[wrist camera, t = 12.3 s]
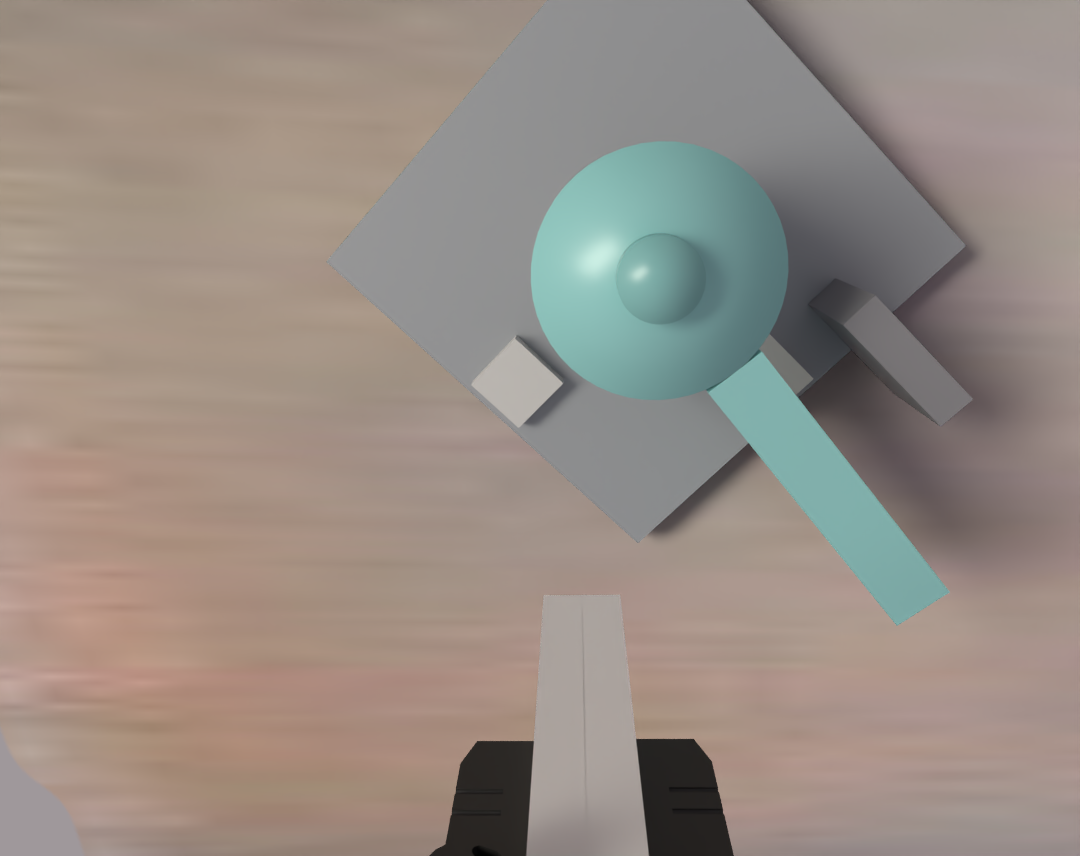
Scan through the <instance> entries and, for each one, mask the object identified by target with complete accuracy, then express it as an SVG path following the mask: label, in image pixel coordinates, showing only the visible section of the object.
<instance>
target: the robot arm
mask: <svg viewBox="0 0 1080 856" xmlns="http://www.w3.org/2000/svg"><path fill="white" fill-rule="evenodd" d="M430 856H734V855H733V851H732V846H731V842H730V838H729V834H728V829H727V825H726V821H725V816H724V814H723V808H722V804H721V799H720V795H719V792H718V786H717V782H716V778H715V773H714V769H713V765H712V761H711V760H710V759H709V758H708V756H707V755H706V754H705V753H704V751H703V750H702V749H701V748H700V746H699V745H698V744H697V743H696V741H695V740H694V739H636V735H635V726H634V717H633V708H632V698H631V689H630V680H629V671H628V662H627V653H626V644H625V635H624V626H623V617H622V608H621V599H620V595H544V598H543V613H542V628H541V643H540V658H539V673H538V688H537V703H536V718H535V733H534V741H477V742H476V744H475V745H474V746H473V748H472V749H471V750H470V752H469V753H468V754H467V756H466V757H465V758H464V760H463V761H462V762H461V764H460V770H459V775H458V780H457V786H456V794H455V796H454V802H453V807H452V815H451V818H450V823H449V828H448V834H447V839H446V845H444V846H442V847H440V848H438V849H436V850H435V851H434V852H433V853H432V854H431V855H430Z"/></svg>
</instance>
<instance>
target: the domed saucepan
mask: <svg viewBox="0 0 1080 856" xmlns="http://www.w3.org/2000/svg"><path fill="white" fill-rule="evenodd" d="M787 280H788V250H787V244H786V238H785V234H784V231H783V227H782V224H781V221H780V219H779V216H778V214H777V212H776V210H775V208H774V205H773V204H772V202H771V201H770V199H769V197H768V196H767V194H766V193H765V191H764V190H763V189H762V188H761V186H760V185H759V184H758V183H757V182H756V181H755V179H754V178H753V177H752V176H751V175H749V174H748V173H747V172H746V171H745V170H744V169H743V168H742V167H740V166H739V165H737V164H736V163H734V162H733V161H731V160H730V159H728V158H727V157H725V156H723V155H721V154H719V153H716V152H714V151H712V150H710V149H707V148H704V147H700V146H697V145H694V144H688V143H682V142H672V141H656V142H648V143H640V144H636V145H632V146H629V147H625V148H622V149H619V150H616V151H614V152H612V153H609V154H607V155H604V156H602V157H601V158H599V159H597V160H595V161H594V162H592V163H590V164H589V165H587V166H586V167H585V168H584V169H582V170H581V171H580V172H578V173H577V174H576V175H575V176H574V177H573V178H572V179H571V180H570V181H569V182H568V183H567V184H566V185H565V186H564V187H563V189H562V190H561V191H560V193H559V194H558V195H557V196H556V198H555V199H554V201H553V203H552V205H551V206H550V208H549V210H548V211H547V213H546V215H545V217H544V219H543V222H542V224H541V226H540V229H539V231H538V234H537V238H536V241H535V245H534V249H533V255H532V262H531V289H532V297H533V302H534V306H535V310H536V314H537V317H538V319H539V322H540V325H541V327H542V330H543V332H544V333H545V335H546V337H547V339H548V341H549V342H550V344H551V345H552V347H553V348H554V350H555V351H556V352H557V354H558V355H559V356H560V357H561V359H562V360H563V361H564V362H565V363H566V364H567V365H568V366H569V367H570V368H571V369H572V370H574V371H575V372H576V373H578V374H579V375H580V376H581V377H583V378H584V379H586V380H587V381H589V382H591V383H592V384H594V385H596V386H597V387H600V388H602V389H604V390H606V391H609V392H611V393H614V394H618V395H621V396H625V397H629V398H635V399H642V400H665V399H675V398H680V397H684V396H689V395H692V394H695V393H698V392H701V391H703V390H707V392H708V394H709V395H710V396H711V397H712V399H713V400H714V401H715V402H716V403H717V405H718V406H719V407H720V408H721V410H722V411H723V412H724V413H725V415H726V416H727V417H728V418H729V419H730V421H731V422H732V423H733V424H734V426H735V427H736V428H737V429H738V431H739V432H740V433H741V434H742V435H743V437H744V438H745V439H746V440H747V442H748V443H749V444H750V445H751V447H752V448H753V449H754V450H755V452H756V453H757V454H758V455H759V456H760V458H761V459H762V460H763V461H764V463H765V464H766V465H767V466H768V468H769V469H770V470H771V471H772V472H773V474H774V475H775V476H776V477H777V479H778V480H779V481H780V482H781V484H782V485H783V486H784V487H785V488H786V490H787V491H788V492H789V493H790V495H791V496H792V497H793V498H794V500H795V501H796V502H797V503H798V504H799V506H800V507H801V508H802V509H803V511H804V512H805V513H806V514H807V516H808V517H809V518H810V519H811V521H812V522H813V523H814V524H815V525H816V527H817V528H818V529H819V530H820V532H821V533H822V534H823V535H824V537H825V538H826V539H827V540H828V541H829V543H830V544H831V545H832V546H833V548H834V549H835V550H836V551H837V553H838V554H839V555H840V556H841V557H842V559H843V560H844V561H845V562H846V564H847V565H848V566H849V567H850V569H851V570H852V571H853V572H854V573H855V575H856V576H857V577H858V578H859V580H860V581H861V582H862V583H863V585H864V586H865V587H866V588H867V590H868V591H869V592H870V593H871V594H872V596H873V597H874V598H875V599H876V601H877V602H878V603H879V604H880V606H881V607H882V608H883V609H884V610H885V612H886V613H887V614H888V615H889V617H890V618H891V619H892V620H893V622H894V623H895V624H896V625H899V624H901V623H902V622H904V621H905V620H907V619H908V618H910V617H912V616H913V615H915V614H916V613H918V612H919V611H921V610H922V609H924V608H926V607H927V606H929V605H930V604H932V603H933V602H935V601H937V600H938V599H940V598H941V597H943V596H944V595H946V594H948V593H949V591H948V589H947V588H946V587H945V585H944V584H943V583H942V582H941V580H940V579H939V578H938V576H937V575H936V574H935V573H934V571H933V570H932V569H931V567H930V566H929V565H928V564H927V562H926V561H925V560H924V559H923V557H922V556H921V555H920V553H919V552H918V551H917V550H916V548H915V547H914V546H913V544H912V543H911V542H910V541H909V539H908V538H907V537H906V535H905V534H904V533H903V532H902V530H901V529H900V528H899V527H898V525H897V524H896V523H895V521H894V520H893V519H892V518H891V516H890V515H889V514H888V512H887V511H886V510H885V509H884V507H883V506H882V505H881V503H880V502H879V501H878V500H877V498H876V497H875V496H874V495H873V493H872V492H871V491H870V489H869V488H868V487H867V486H866V484H865V483H864V482H863V480H862V479H861V478H860V477H859V475H858V474H857V473H856V472H855V470H854V469H853V468H852V466H851V465H850V464H849V463H848V461H847V460H846V459H845V457H844V456H843V455H842V454H841V452H840V451H839V450H838V448H837V447H836V446H835V445H834V443H833V442H832V441H831V440H830V438H829V437H828V436H827V434H826V433H825V432H824V431H823V429H822V428H821V427H820V425H819V424H818V423H817V422H816V420H815V419H814V418H813V416H812V415H811V414H810V413H809V411H808V410H807V409H806V408H805V406H804V405H803V404H802V402H801V401H800V400H799V399H798V397H797V396H796V395H795V393H794V392H793V391H792V390H791V388H790V387H789V386H788V384H787V383H786V382H785V381H784V379H783V378H782V377H781V376H780V374H779V373H778V372H777V370H776V369H775V368H774V367H773V365H772V364H771V363H770V361H769V360H768V359H767V358H766V356H765V355H764V354H763V352H762V351H761V350H760V349H759V348H760V347H761V346H762V344H763V343H764V341H765V340H766V338H767V337H768V336H769V334H770V332H771V330H772V328H773V326H774V324H775V322H776V321H777V318H778V315H779V313H780V310H781V308H782V305H783V301H784V297H785V293H786V289H787Z"/></svg>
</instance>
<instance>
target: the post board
mask: <svg viewBox="0 0 1080 856" xmlns="http://www.w3.org/2000/svg"><path fill="white" fill-rule="evenodd" d="M656 141H672V142H682V143H688V144H694V145H697V146H700V147H704V148H707V149H710V150H712V151H714V152H716V153H719V154H721V155H723V156H725V157H727V158H728V159H730V160H731V161H733V162H734V163H736V164H737V165H739V166H740V167H742V168H743V169H744V170H745V171H746V172H747V173H748V174H749V175H751V176H752V177H753V178H754V179H755V181H756V182H757V183H758V184H759V185H760V186H761V188H762V189H763V190H764V191H765V193H766V194H767V196H768V197H769V199H770V201H771V202H772V204H773V205H774V208H775V210H776V212H777V214H778V216H779V219H780V221H781V224H782V227H783V231H784V234H785V238H786V244H787V250H788V280H787V289H786V293H785V297H784V301H783V305H782V308H781V310H780V313H779V315H778V318H777V321H776V322H775V324H774V326H773V328H772V330H771V332H770V334H769V336H768V337H767V338H766V340H765V341H764V343H763V344H762V346H761V347H760V348H759V349H760V350H761V351H762V352H763V354H764V355H765V356H766V358H767V359H768V360H769V361H770V363H771V364H772V365H773V367H774V368H775V369H776V370H777V372H778V373H779V374H780V376H781V377H782V378H783V379H784V381H785V382H786V383H787V384H788V386H789V387H790V388H791V390H792V391H793V392H794V393H795V395H796V396H797V397H798V398H799V397H800V396H801V395H802V394H803V393H804V392H805V391H806V390H808V389H809V388H810V387H811V386H812V385H813V384H814V383H815V382H816V381H818V380H819V379H820V378H821V377H822V376H823V375H824V374H825V373H826V372H827V371H829V370H830V369H831V368H832V367H833V366H834V365H835V364H836V363H837V362H838V361H840V360H841V359H842V358H843V357H844V356H845V355H846V354H847V353H848V352H850V351H851V350H852V351H853V352H854V353H855V354H856V355H857V356H858V357H859V358H860V359H861V360H862V361H863V362H864V363H865V364H866V365H867V366H868V367H869V368H870V369H871V370H872V371H873V372H874V373H875V374H876V376H877V377H878V378H879V379H880V380H881V381H882V382H883V383H884V384H885V385H886V386H887V387H888V388H889V389H890V390H891V391H892V392H893V393H894V394H895V395H897V396H898V397H899V398H901V399H902V400H904V401H905V402H906V403H908V404H909V405H911V406H912V407H914V408H915V409H916V410H918V411H919V412H921V413H922V414H923V415H925V416H926V417H928V418H929V419H931V420H932V421H933V422H935V423H936V424H938V425H939V426H942V425H943V424H945V423H946V422H947V421H948V420H949V419H951V418H952V417H953V416H954V415H955V414H956V413H958V412H959V411H960V410H961V409H962V408H964V407H965V406H966V405H967V404H968V403H969V402H971V401H972V400H973V398H972V397H971V396H970V395H969V394H968V393H967V392H966V391H965V390H964V389H963V388H962V387H961V386H960V385H959V384H958V382H957V381H956V380H955V379H954V378H953V377H952V376H951V375H950V374H949V373H948V372H947V371H946V370H945V369H944V368H943V367H942V365H941V364H940V363H939V362H938V361H937V360H936V359H935V358H934V357H933V356H932V355H931V354H930V353H929V352H928V351H927V349H926V348H925V347H924V346H923V345H922V344H921V343H920V342H919V341H918V340H917V339H916V338H915V337H914V336H913V335H912V334H911V332H910V331H909V330H908V329H907V328H906V327H905V326H904V325H903V324H902V323H901V322H900V321H899V320H898V319H897V318H896V316H895V315H894V314H893V312H894V311H895V310H896V309H897V308H898V307H899V306H900V305H901V304H903V303H904V302H905V301H906V300H907V299H908V298H909V297H910V296H911V295H912V294H914V293H915V292H916V291H917V290H918V289H919V288H920V287H921V286H922V285H924V284H925V283H926V282H927V281H928V280H929V279H930V278H931V277H932V276H933V275H935V274H936V273H937V272H938V271H939V270H940V269H941V268H942V267H943V266H945V265H946V264H947V263H948V262H949V261H950V260H951V259H952V258H953V257H954V256H956V255H957V254H958V253H959V252H960V251H961V250H962V249H963V248H964V247H965V246H966V245H965V244H964V243H963V242H962V240H961V239H960V238H959V237H958V236H957V235H956V234H955V233H954V232H953V230H952V229H951V228H950V227H949V226H948V225H947V224H946V223H945V221H944V220H943V219H942V218H941V217H940V216H939V215H938V214H937V213H936V211H935V210H934V209H933V208H932V207H931V206H930V205H929V204H928V202H927V201H926V200H925V199H924V198H923V197H922V196H921V195H920V194H919V192H918V191H917V190H916V189H915V188H914V187H913V186H912V185H911V183H910V182H909V181H908V180H907V179H906V178H905V177H904V176H903V175H902V173H901V172H900V171H899V170H898V169H897V168H896V167H895V166H894V164H893V163H892V162H891V161H890V160H889V159H888V158H887V157H886V156H885V154H884V153H883V152H882V151H881V150H880V149H879V148H878V147H877V145H876V144H875V143H874V142H873V141H872V140H871V139H870V138H869V137H868V135H867V134H866V133H865V132H864V131H863V130H862V129H861V128H860V126H859V125H858V124H857V123H856V122H855V121H854V120H853V119H852V118H851V116H850V115H849V114H848V113H847V112H846V111H845V110H844V109H843V107H842V106H841V105H840V104H839V103H838V102H837V101H836V100H835V99H834V97H833V96H832V95H831V94H830V93H829V92H828V91H827V90H826V88H825V87H824V86H823V85H822V84H821V83H820V82H819V81H818V80H817V78H816V77H815V76H814V75H813V74H812V73H811V72H810V71H809V69H808V68H807V67H806V66H805V65H804V64H803V63H802V62H801V61H800V59H799V58H798V57H797V56H796V55H795V54H794V53H793V52H792V50H791V49H790V48H789V47H788V46H787V45H786V44H785V43H784V42H783V40H782V39H781V38H780V37H779V36H778V35H777V34H776V33H775V31H774V30H773V29H772V28H771V27H770V26H769V25H768V24H767V23H766V21H765V20H764V19H763V18H762V17H761V16H760V15H759V14H758V12H757V11H756V10H755V9H754V8H753V7H752V6H751V5H750V4H749V2H748V1H747V0H547V1H546V2H545V3H544V5H543V6H542V7H541V8H540V9H539V11H538V12H537V13H536V14H535V15H534V16H533V18H532V19H531V20H530V21H529V22H528V24H527V25H526V26H525V27H524V28H523V30H522V31H521V32H520V33H519V34H518V35H517V37H516V38H515V39H514V40H513V41H512V43H511V44H510V45H509V46H508V47H507V48H506V50H505V51H504V52H503V53H502V54H501V56H500V57H499V58H498V59H497V60H496V61H495V63H494V64H493V65H492V66H491V67H490V69H489V70H488V71H487V72H486V73H485V75H484V76H483V77H482V78H481V79H480V80H479V82H478V83H477V84H476V85H475V86H474V88H473V89H472V90H471V91H470V92H469V93H468V95H467V96H466V97H465V98H464V99H463V101H462V102H461V103H460V104H459V105H458V106H457V108H456V109H455V110H454V111H453V112H452V114H451V115H450V116H449V117H448V118H447V119H446V121H445V122H444V123H443V124H442V125H441V127H440V128H439V129H438V130H437V131H436V133H435V134H434V135H433V136H432V137H431V138H430V140H429V141H428V142H427V143H426V144H425V146H424V147H423V148H422V149H421V150H420V151H419V153H418V154H417V155H416V156H415V157H414V159H413V160H412V161H411V162H410V163H409V164H408V166H407V167H406V168H405V169H404V170H403V172H402V173H401V174H400V175H399V176H398V178H397V179H396V180H395V181H394V182H393V183H392V185H391V186H390V187H389V188H388V189H387V191H386V192H385V193H384V194H383V195H382V196H381V198H380V199H379V200H378V201H377V202H376V204H375V205H374V206H373V207H372V208H371V209H370V211H369V212H368V213H367V214H366V215H365V217H364V218H363V219H362V220H361V221H360V222H359V224H358V225H357V226H356V227H355V228H354V230H353V231H352V232H351V233H350V234H349V236H348V237H347V238H346V239H345V240H344V241H343V243H342V244H341V245H340V246H339V247H338V249H337V250H336V251H335V252H334V253H333V254H332V256H331V257H330V258H329V259H328V260H327V263H328V264H329V265H330V266H331V267H333V268H334V269H335V270H336V271H337V272H338V273H339V274H340V275H341V276H343V277H344V278H345V279H346V280H347V281H348V282H349V283H350V284H351V285H353V286H354V287H355V288H356V289H357V290H358V291H359V292H360V293H361V294H363V295H364V296H365V297H366V298H367V299H368V300H369V301H370V302H371V303H372V304H374V305H375V306H376V307H377V308H378V309H379V310H380V311H381V312H382V313H384V314H385V315H386V316H387V317H388V318H389V319H390V320H391V321H392V322H394V323H395V324H396V325H397V326H398V327H399V328H400V329H401V330H402V331H403V332H405V333H406V334H407V335H408V336H409V337H410V338H411V339H412V340H413V341H415V342H416V343H417V344H418V345H419V346H420V347H421V348H422V349H423V350H425V351H426V352H427V353H428V354H429V355H430V356H431V357H432V358H433V359H434V360H436V361H437V362H438V363H439V364H440V365H441V366H442V367H443V368H444V369H446V370H447V371H448V372H449V373H450V374H451V375H452V376H453V377H454V378H456V379H457V380H458V381H459V382H460V383H461V384H462V385H463V386H464V387H466V388H467V389H468V390H469V391H470V392H471V393H472V394H473V395H474V396H475V397H477V398H478V399H479V400H480V401H481V402H482V403H483V404H484V405H485V406H487V407H488V408H489V409H490V410H491V411H492V412H493V413H494V414H495V415H497V416H498V417H499V418H500V419H501V420H502V421H503V422H504V423H505V424H506V425H508V426H509V427H510V428H511V429H512V430H513V431H514V432H515V433H516V434H518V435H519V436H520V437H521V438H522V439H523V440H524V441H525V442H526V443H528V444H529V445H530V446H531V447H532V448H533V449H534V450H535V451H536V452H537V453H539V454H540V455H541V456H542V457H543V458H544V459H545V460H546V461H547V462H549V463H550V464H551V465H552V466H553V467H554V468H555V469H556V470H557V471H559V472H560V473H561V474H562V475H563V476H564V477H565V478H566V479H567V480H569V481H570V482H571V483H572V484H573V485H574V486H575V487H576V488H577V489H578V490H580V491H581V492H582V493H583V494H584V495H585V496H586V497H587V498H588V499H590V500H591V501H592V502H593V503H594V504H595V505H596V506H597V507H598V508H600V509H601V510H602V511H603V512H604V513H605V514H606V515H607V516H608V517H609V518H611V519H612V520H613V521H614V522H615V523H616V524H617V525H618V526H619V527H621V528H622V529H623V530H624V531H625V532H626V533H627V534H628V535H629V536H631V537H632V538H633V539H634V540H635V541H636V542H637V543H639V542H640V541H641V540H642V539H643V538H644V537H645V536H646V535H647V534H649V533H650V532H651V531H652V530H653V529H654V528H655V527H656V526H657V525H658V524H660V523H661V522H662V521H663V520H664V519H665V518H666V517H667V516H668V515H670V514H671V513H672V512H673V511H674V510H675V509H676V508H677V507H678V506H679V505H681V504H682V503H683V502H684V501H685V500H686V499H687V498H688V497H689V496H691V495H692V494H693V493H694V492H695V491H696V490H697V489H698V488H699V487H700V486H702V485H703V484H704V483H705V482H706V481H707V480H708V479H709V478H710V477H712V476H713V475H714V474H715V473H716V472H717V471H718V470H719V469H720V468H721V467H723V466H724V465H725V464H726V463H727V462H728V461H729V460H730V459H731V458H732V457H734V456H735V455H736V454H737V453H738V452H739V451H740V450H741V449H742V448H744V447H745V446H746V445H747V444H748V442H747V440H746V439H745V438H744V437H743V435H742V434H741V433H740V432H739V431H738V429H737V428H736V427H735V426H734V424H733V423H732V422H731V421H730V419H729V418H728V417H727V416H726V415H725V413H724V412H723V411H722V410H721V408H720V407H719V406H718V405H717V403H716V402H715V401H714V400H713V399H712V397H711V396H710V395H709V394H708V392H707V390H703V391H701V392H698V393H695V394H692V395H689V396H684V397H680V398H675V399H665V400H642V399H635V398H629V397H625V396H621V395H618V394H614V393H611V392H609V391H606V390H604V389H602V388H600V387H597V386H596V385H594V384H592V383H591V382H589V381H587V380H586V379H584V378H583V377H581V376H580V375H579V374H578V373H576V372H575V371H574V370H572V369H571V368H570V367H569V366H568V365H567V364H566V363H565V362H564V361H563V360H562V359H561V357H560V356H559V355H558V354H557V352H556V351H555V350H554V348H553V347H552V345H551V344H550V342H549V341H548V339H547V337H546V335H545V333H544V332H543V330H542V327H541V325H540V322H539V319H538V317H537V314H536V310H535V306H534V302H533V297H532V289H531V262H532V255H533V249H534V245H535V241H536V238H537V234H538V231H539V229H540V226H541V224H542V222H543V219H544V217H545V215H546V213H547V211H548V210H549V208H550V206H551V205H552V203H553V201H554V199H555V198H556V196H557V195H558V194H559V193H560V191H561V190H562V189H563V187H564V186H565V185H566V184H567V183H568V182H569V181H570V180H571V179H572V178H573V177H574V176H575V175H576V174H577V173H578V172H580V171H581V170H582V169H584V168H585V167H586V166H587V165H589V164H590V163H592V162H594V161H595V160H597V159H599V158H601V157H602V156H604V155H607V154H609V153H612V152H614V151H616V150H619V149H622V148H625V147H629V146H632V145H636V144H640V143H648V142H656Z"/></svg>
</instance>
